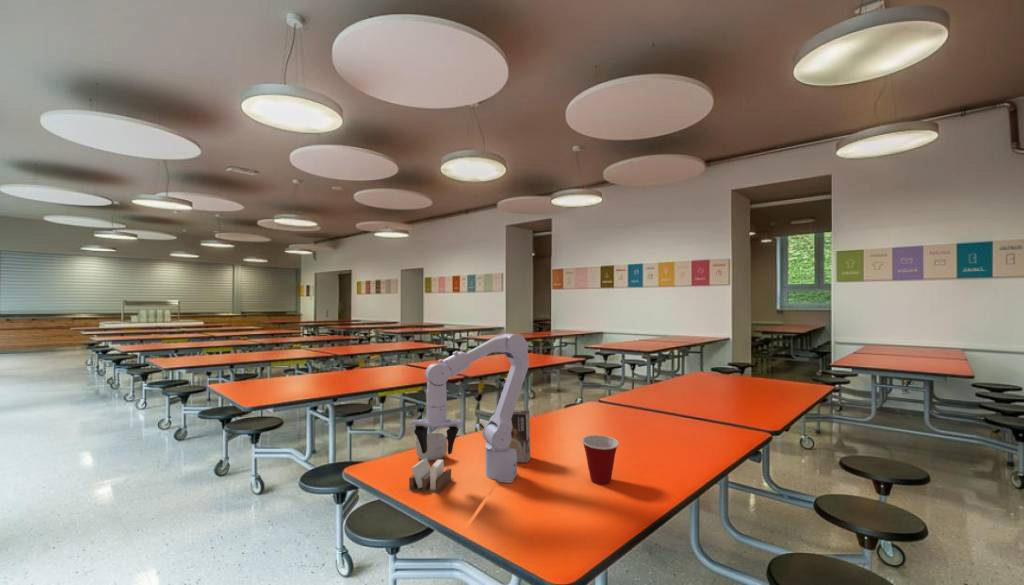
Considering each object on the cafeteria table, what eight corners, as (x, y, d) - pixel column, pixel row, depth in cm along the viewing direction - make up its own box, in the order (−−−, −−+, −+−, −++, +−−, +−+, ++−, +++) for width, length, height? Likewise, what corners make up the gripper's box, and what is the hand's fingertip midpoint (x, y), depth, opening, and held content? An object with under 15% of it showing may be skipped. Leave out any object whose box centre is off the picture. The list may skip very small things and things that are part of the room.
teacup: (440, 465, 142) (440, 441, 143) (410, 464, 144) (409, 439, 145) (454, 452, 156) (454, 429, 156) (426, 450, 158) (426, 428, 158)
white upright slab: (443, 480, 127) (443, 459, 128) (436, 489, 120) (436, 468, 121) (437, 480, 128) (437, 459, 128) (430, 489, 121) (430, 467, 121)
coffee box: (531, 457, 149) (530, 410, 150) (527, 463, 143) (526, 414, 144) (505, 455, 151) (505, 409, 152) (501, 461, 145) (500, 413, 146)
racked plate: (434, 477, 128) (426, 457, 129) (423, 486, 121) (416, 466, 122) (428, 479, 128) (421, 459, 129) (418, 488, 122) (411, 468, 122)
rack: (453, 481, 129) (453, 467, 129) (439, 496, 118) (439, 481, 118) (423, 478, 131) (423, 465, 131) (406, 493, 120) (406, 479, 120)
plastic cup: (597, 491, 120) (596, 447, 120) (575, 478, 129) (574, 437, 130) (628, 483, 124) (626, 441, 125) (604, 471, 134) (603, 432, 135)
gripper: (464, 402, 128) (465, 448, 128) (417, 402, 130) (418, 447, 130) (458, 407, 121) (458, 456, 121) (409, 407, 123) (409, 455, 123)
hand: (437, 452), depth 125 cm, fingers open, 7 cm apart
